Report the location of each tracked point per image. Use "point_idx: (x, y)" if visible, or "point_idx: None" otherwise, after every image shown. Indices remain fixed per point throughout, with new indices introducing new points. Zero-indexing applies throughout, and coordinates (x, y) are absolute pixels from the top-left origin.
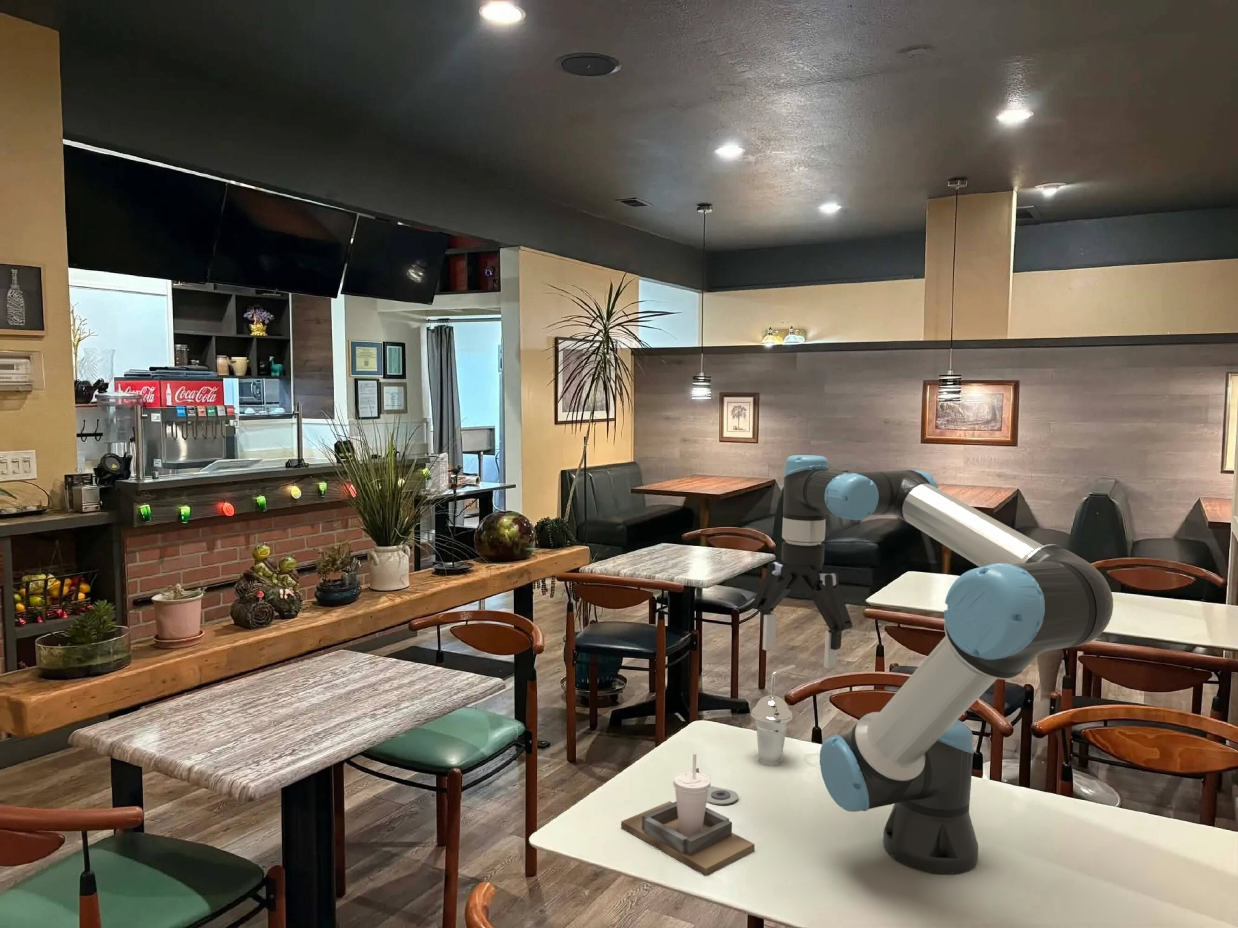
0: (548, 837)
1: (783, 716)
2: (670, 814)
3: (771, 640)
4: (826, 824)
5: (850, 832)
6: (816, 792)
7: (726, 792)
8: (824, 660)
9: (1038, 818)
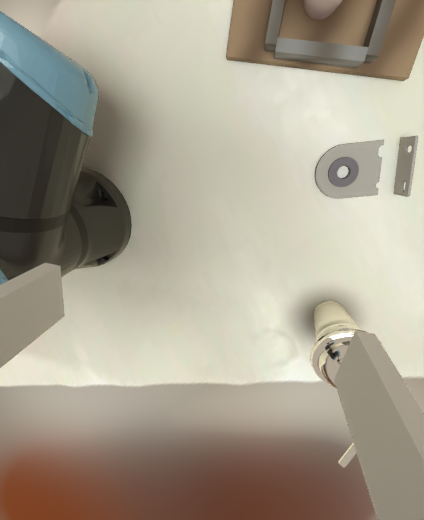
0: None
1: (320, 351)
2: (378, 3)
3: (353, 389)
4: (191, 199)
5: (162, 199)
6: (239, 268)
7: (337, 181)
8: (39, 277)
9: (59, 339)
